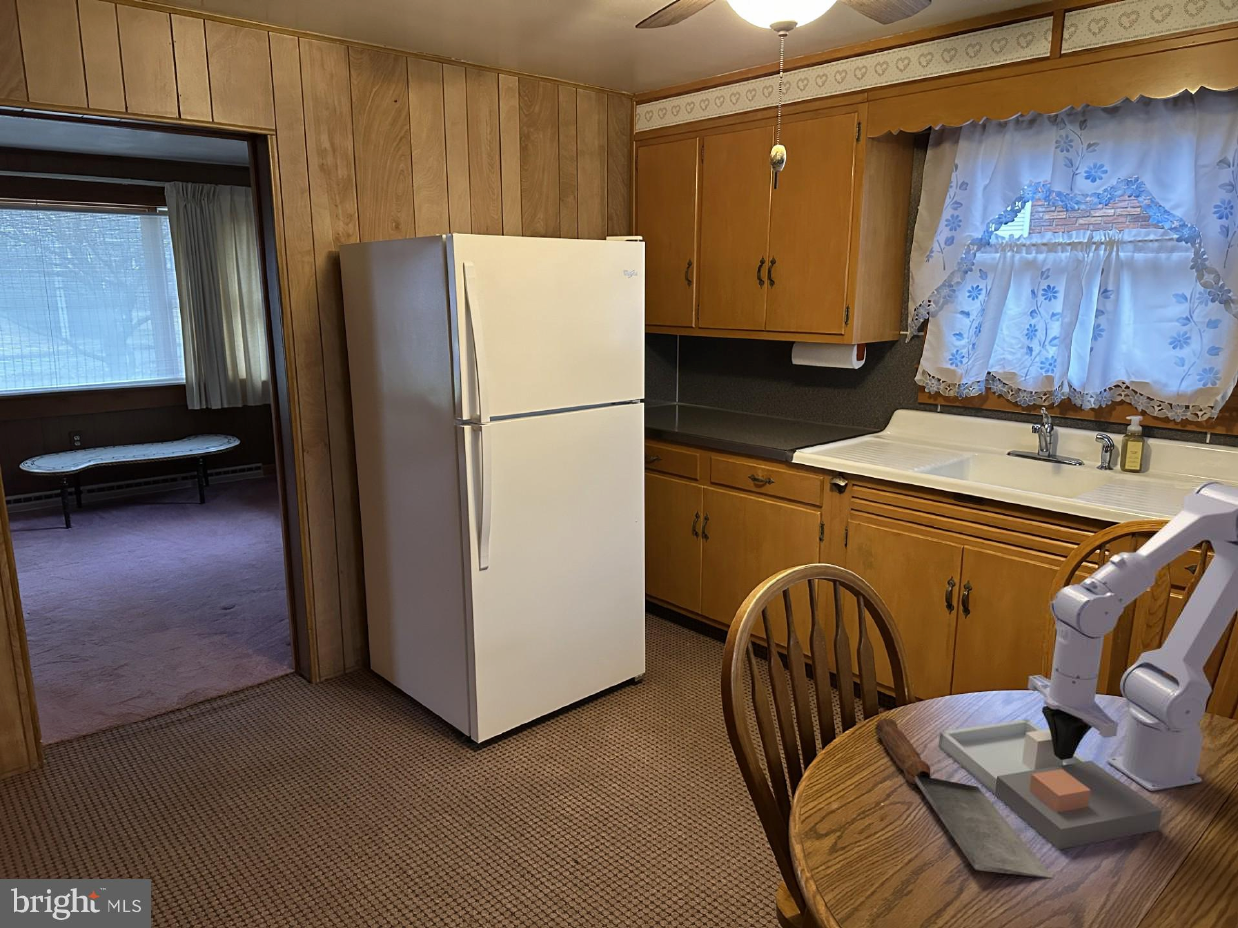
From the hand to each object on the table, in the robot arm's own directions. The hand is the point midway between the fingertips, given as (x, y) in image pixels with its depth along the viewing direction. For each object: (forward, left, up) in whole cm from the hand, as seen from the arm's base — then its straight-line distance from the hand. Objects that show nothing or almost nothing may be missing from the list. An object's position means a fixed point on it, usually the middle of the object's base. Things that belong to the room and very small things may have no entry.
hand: (1063, 756), depth 122 cm
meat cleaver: (+17, -1, -4) cm, 18 cm away
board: (+4, +6, -4) cm, 8 cm away
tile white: (0, -2, -1) cm, 3 cm away
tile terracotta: (+7, +7, -1) cm, 10 cm away
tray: (+4, -6, -4) cm, 8 cm away
